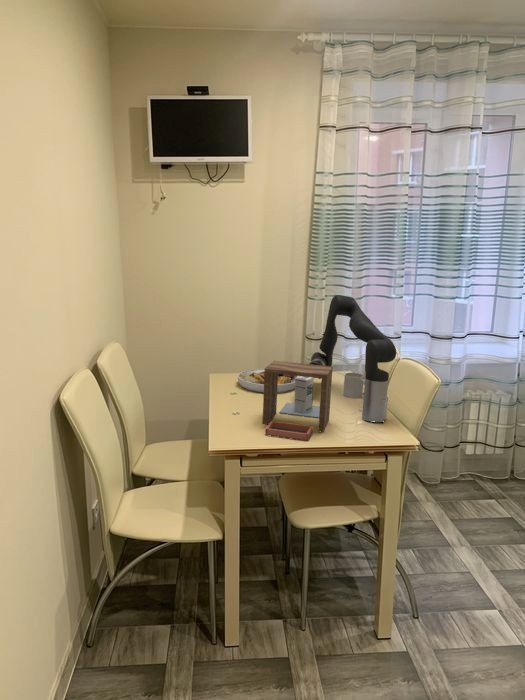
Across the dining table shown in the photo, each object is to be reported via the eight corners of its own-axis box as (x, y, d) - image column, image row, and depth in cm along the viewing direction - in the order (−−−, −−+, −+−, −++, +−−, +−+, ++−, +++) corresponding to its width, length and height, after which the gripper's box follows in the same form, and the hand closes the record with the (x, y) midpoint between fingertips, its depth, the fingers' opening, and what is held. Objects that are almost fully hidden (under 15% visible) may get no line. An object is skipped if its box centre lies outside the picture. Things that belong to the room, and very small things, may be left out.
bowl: (270, 399, 236) (270, 382, 234) (224, 385, 256) (225, 369, 254) (310, 387, 258) (311, 371, 256) (266, 375, 277) (266, 360, 276)
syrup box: (305, 413, 215) (307, 379, 212) (293, 410, 219) (295, 377, 216) (312, 410, 220) (314, 377, 217) (300, 407, 223) (302, 374, 220)
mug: (341, 392, 249) (342, 372, 247) (360, 392, 250) (362, 372, 248) (347, 399, 239) (348, 378, 237) (367, 399, 240) (369, 378, 238)
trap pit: (271, 427, 200) (271, 420, 200) (312, 432, 196) (312, 426, 196) (265, 435, 192) (265, 428, 191) (307, 441, 188) (308, 434, 187)
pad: (286, 403, 229) (286, 402, 229) (327, 408, 225) (327, 407, 225) (279, 413, 216) (279, 412, 216) (322, 418, 211) (322, 417, 211)
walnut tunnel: (271, 413, 216) (273, 360, 211) (328, 420, 210) (332, 366, 205) (262, 424, 203) (264, 368, 198) (323, 432, 197) (327, 375, 192)
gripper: (301, 358, 243) (294, 366, 228) (331, 361, 240) (326, 369, 224) (300, 374, 245) (293, 382, 229) (330, 377, 241) (325, 385, 226)
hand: (309, 375), depth 227 cm, fingers open, 8 cm apart
